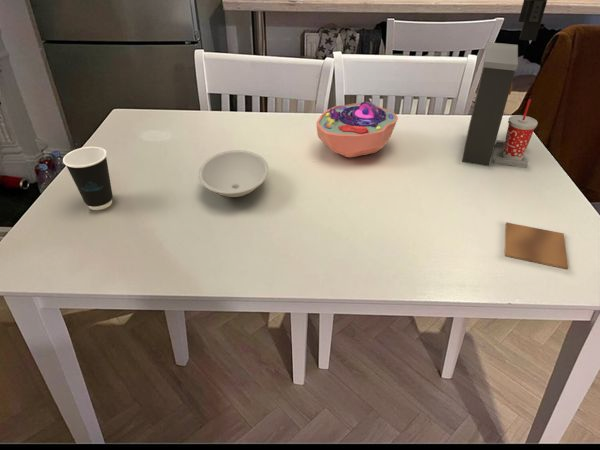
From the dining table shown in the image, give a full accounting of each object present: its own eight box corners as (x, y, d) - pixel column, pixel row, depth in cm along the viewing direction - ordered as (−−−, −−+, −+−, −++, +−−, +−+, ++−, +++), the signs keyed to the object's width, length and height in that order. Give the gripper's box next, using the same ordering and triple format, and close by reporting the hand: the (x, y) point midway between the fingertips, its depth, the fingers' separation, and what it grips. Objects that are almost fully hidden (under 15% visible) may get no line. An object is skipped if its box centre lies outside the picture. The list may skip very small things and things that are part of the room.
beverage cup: (495, 149, 113) (511, 93, 104) (521, 150, 112) (538, 94, 104) (503, 162, 108) (520, 104, 99) (530, 162, 107) (549, 104, 99)
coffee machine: (525, 144, 115) (556, 48, 101) (526, 172, 104) (560, 69, 90) (465, 136, 119) (487, 42, 105) (460, 162, 108) (484, 61, 94)
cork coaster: (563, 234, 86) (563, 233, 86) (567, 269, 78) (568, 267, 78) (505, 223, 89) (506, 222, 88) (504, 256, 81) (505, 254, 81)
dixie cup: (93, 219, 91) (76, 170, 84) (72, 205, 95) (54, 157, 88) (128, 201, 95) (114, 154, 89) (106, 188, 100) (92, 142, 93)
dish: (271, 212, 92) (269, 191, 89) (198, 216, 91) (194, 195, 88) (268, 168, 106) (267, 148, 103) (205, 170, 105) (202, 151, 102)
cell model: (301, 147, 114) (300, 103, 107) (364, 127, 123) (368, 86, 116) (342, 177, 103) (344, 130, 96) (409, 153, 111) (416, 108, 104)
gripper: (536, -108, 87) (506, 14, 100) (543, -103, 68) (505, 46, 81) (580, -108, 85) (544, 16, 97) (600, -102, 66) (551, 50, 79)
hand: (526, 30), depth 89 cm, fingers open, 13 cm apart
